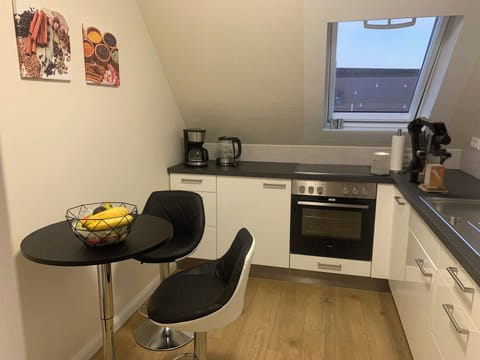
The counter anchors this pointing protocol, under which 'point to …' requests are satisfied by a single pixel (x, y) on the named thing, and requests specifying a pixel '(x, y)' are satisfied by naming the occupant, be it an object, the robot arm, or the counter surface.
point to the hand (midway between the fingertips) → (431, 167)
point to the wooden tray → (432, 188)
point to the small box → (434, 175)
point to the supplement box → (380, 163)
